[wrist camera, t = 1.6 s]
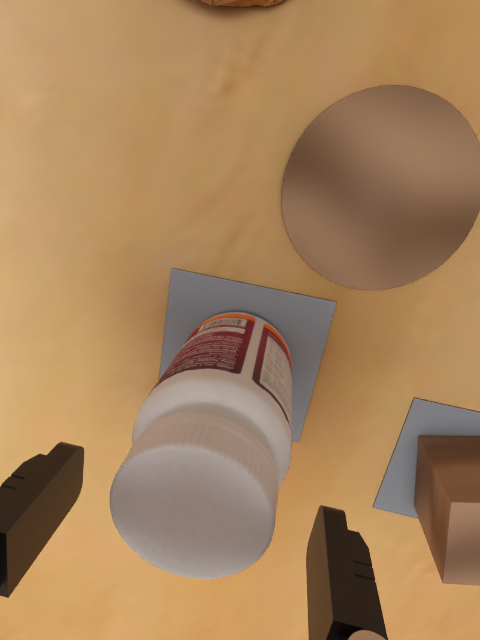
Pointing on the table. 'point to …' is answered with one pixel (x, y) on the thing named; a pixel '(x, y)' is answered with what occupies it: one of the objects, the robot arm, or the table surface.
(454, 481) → the walnut block
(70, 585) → the table surface
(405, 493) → the code tile
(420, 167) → the coaster
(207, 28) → the table surface
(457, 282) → the table surface
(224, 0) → the burger
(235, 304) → the code tile
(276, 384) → the pill bottle
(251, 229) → the table surface
